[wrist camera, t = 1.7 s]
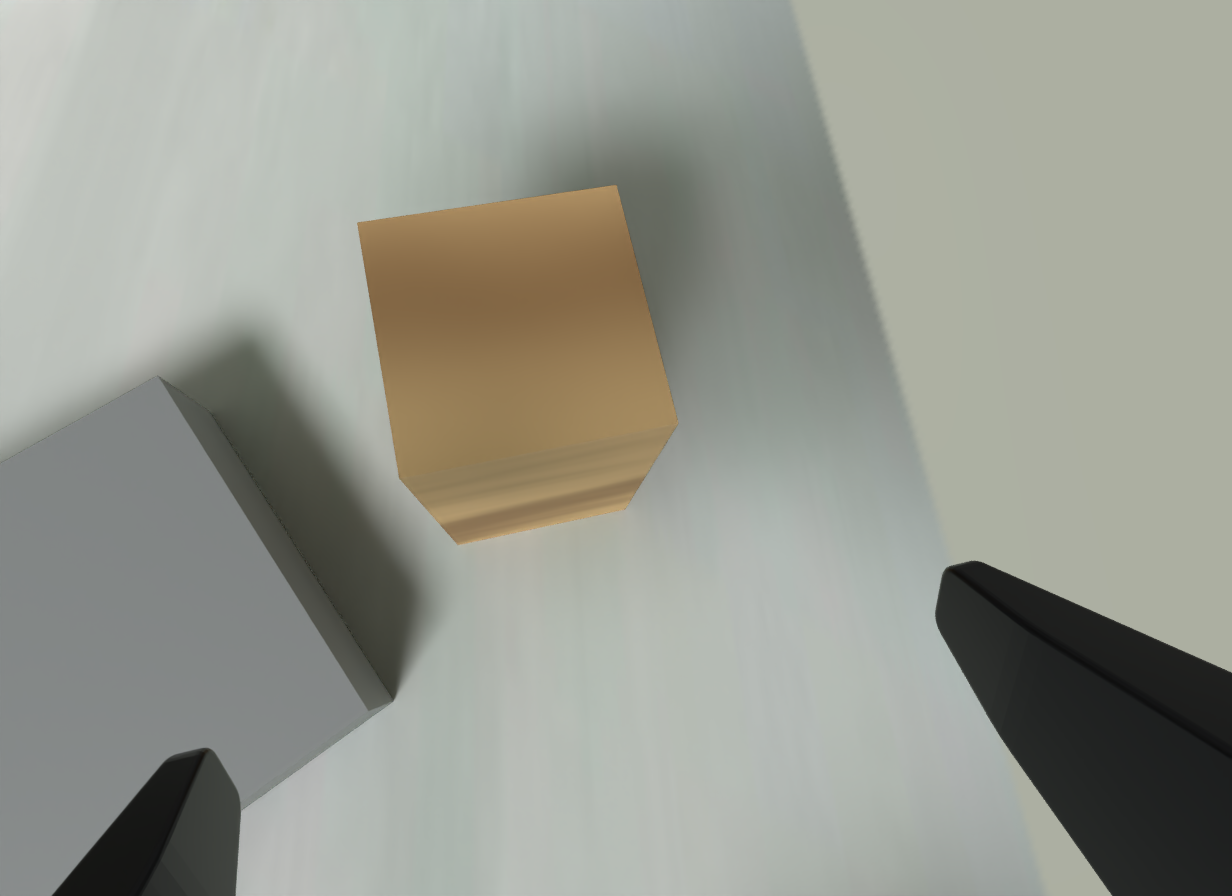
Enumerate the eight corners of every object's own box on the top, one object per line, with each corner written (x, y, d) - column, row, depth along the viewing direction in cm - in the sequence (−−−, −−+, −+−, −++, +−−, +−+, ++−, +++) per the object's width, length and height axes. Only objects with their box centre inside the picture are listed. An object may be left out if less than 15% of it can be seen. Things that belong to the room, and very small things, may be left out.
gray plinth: (393, 701, 20) (368, 710, 17) (32, 960, 18) (-68, 1023, 15) (209, 411, 21) (157, 375, 19) (-146, 616, 19) (-267, 612, 16)
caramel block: (625, 509, 22) (678, 423, 13) (457, 545, 21) (399, 478, 13) (588, 356, 23) (616, 184, 14) (429, 385, 22) (357, 222, 14)
